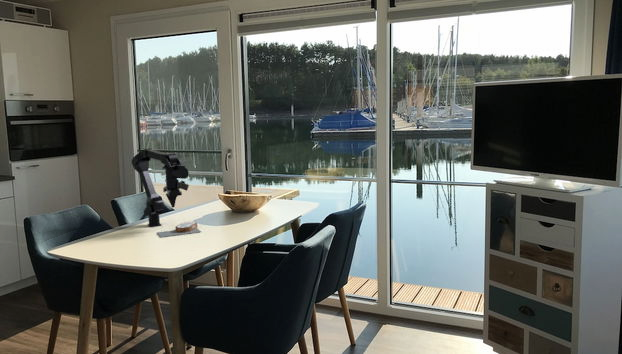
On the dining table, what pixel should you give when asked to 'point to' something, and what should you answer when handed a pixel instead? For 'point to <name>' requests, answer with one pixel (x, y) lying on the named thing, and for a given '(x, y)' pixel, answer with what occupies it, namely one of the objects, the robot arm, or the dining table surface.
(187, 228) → the tin
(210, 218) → the dining table surface
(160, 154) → the robot arm
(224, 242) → the dining table surface
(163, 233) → the mat
